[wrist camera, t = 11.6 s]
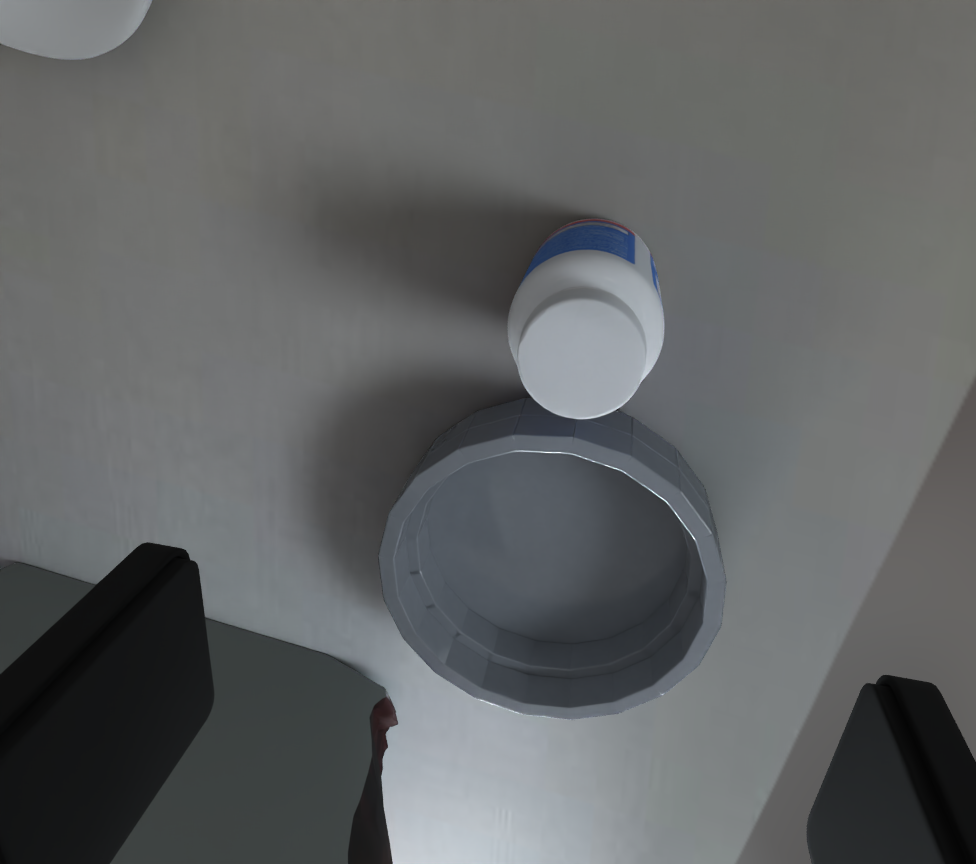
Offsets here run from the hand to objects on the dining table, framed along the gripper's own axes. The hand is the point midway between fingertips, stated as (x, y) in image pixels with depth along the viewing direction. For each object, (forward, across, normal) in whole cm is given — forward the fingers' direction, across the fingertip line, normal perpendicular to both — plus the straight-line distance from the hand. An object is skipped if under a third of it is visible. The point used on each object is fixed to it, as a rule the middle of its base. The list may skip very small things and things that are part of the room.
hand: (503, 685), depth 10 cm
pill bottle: (+24, 0, 0) cm, 24 cm away
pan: (+23, 0, +13) cm, 27 cm away
